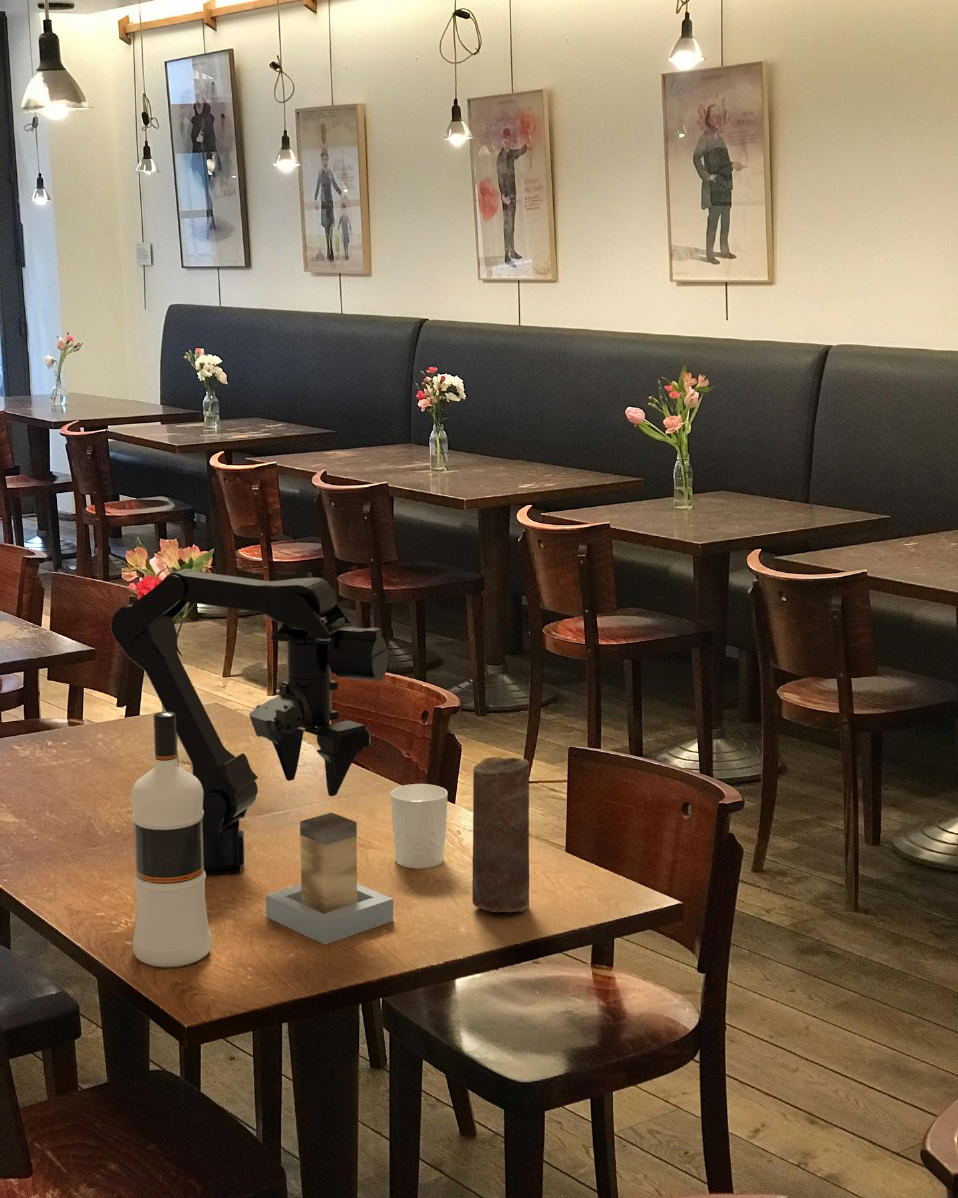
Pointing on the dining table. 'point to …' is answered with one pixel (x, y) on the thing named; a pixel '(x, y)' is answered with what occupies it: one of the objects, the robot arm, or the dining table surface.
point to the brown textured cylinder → (501, 834)
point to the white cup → (419, 824)
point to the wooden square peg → (328, 862)
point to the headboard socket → (329, 914)
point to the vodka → (169, 858)
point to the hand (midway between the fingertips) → (311, 787)
